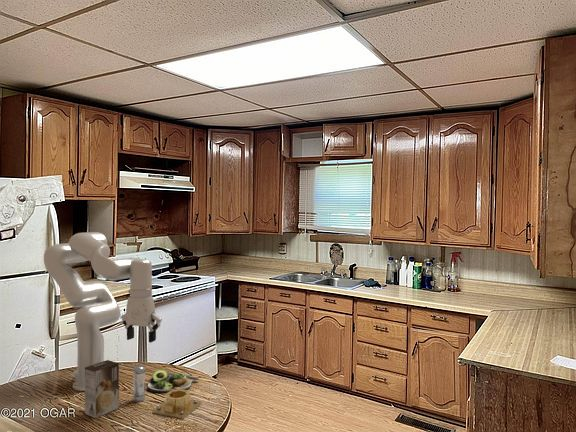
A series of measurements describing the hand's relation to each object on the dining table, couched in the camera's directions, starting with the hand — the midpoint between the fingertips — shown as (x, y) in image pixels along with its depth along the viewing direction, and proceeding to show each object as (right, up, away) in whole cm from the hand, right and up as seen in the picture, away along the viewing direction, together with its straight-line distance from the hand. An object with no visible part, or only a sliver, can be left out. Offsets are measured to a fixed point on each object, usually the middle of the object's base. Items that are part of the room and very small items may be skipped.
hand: (141, 340), depth 159 cm
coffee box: (-11, -22, -9) cm, 26 cm away
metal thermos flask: (-1, -22, 0) cm, 22 cm away
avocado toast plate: (+6, -22, +15) cm, 27 cm away
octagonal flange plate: (+15, -22, -6) cm, 27 cm away
